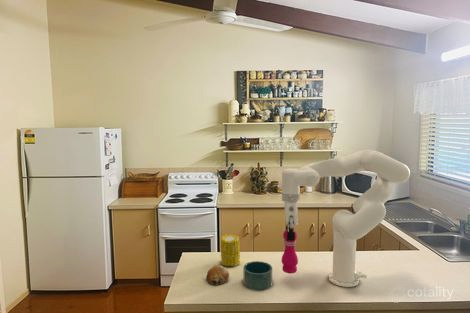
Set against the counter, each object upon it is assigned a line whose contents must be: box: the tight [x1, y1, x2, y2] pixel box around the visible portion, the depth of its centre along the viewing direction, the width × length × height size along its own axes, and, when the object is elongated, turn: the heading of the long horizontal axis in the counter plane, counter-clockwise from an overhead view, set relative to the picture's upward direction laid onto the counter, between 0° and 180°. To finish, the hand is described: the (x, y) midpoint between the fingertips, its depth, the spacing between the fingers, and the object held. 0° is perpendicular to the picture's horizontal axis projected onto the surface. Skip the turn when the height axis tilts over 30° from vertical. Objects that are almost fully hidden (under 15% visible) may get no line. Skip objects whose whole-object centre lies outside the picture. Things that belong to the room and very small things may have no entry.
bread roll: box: [206, 264, 230, 286], centre depth 143 cm, size 10×10×8 cm
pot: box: [242, 260, 273, 291], centre depth 140 cm, size 13×13×7 cm
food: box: [220, 234, 241, 267], centre depth 159 cm, size 15×12×10 cm
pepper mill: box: [281, 226, 299, 274], centre depth 140 cm, size 7×7×20 cm
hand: (290, 237), depth 139 cm, fingers closed on pepper mill, 6 cm apart
